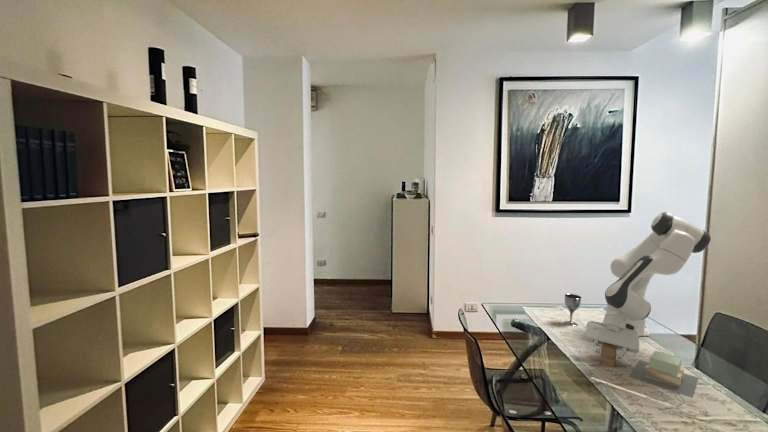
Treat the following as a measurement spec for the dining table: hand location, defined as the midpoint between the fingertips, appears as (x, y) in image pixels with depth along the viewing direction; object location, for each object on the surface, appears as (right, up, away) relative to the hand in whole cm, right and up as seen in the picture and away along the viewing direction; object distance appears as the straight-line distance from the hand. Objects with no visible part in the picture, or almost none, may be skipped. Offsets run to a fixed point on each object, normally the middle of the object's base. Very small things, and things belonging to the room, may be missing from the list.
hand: (608, 355), depth 165 cm
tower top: (+17, -1, -10) cm, 19 cm away
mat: (+16, -6, -9) cm, 20 cm away
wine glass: (+6, 0, +47) cm, 47 cm away
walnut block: (0, -4, +1) cm, 4 cm away
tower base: (+16, -5, -9) cm, 20 cm away
